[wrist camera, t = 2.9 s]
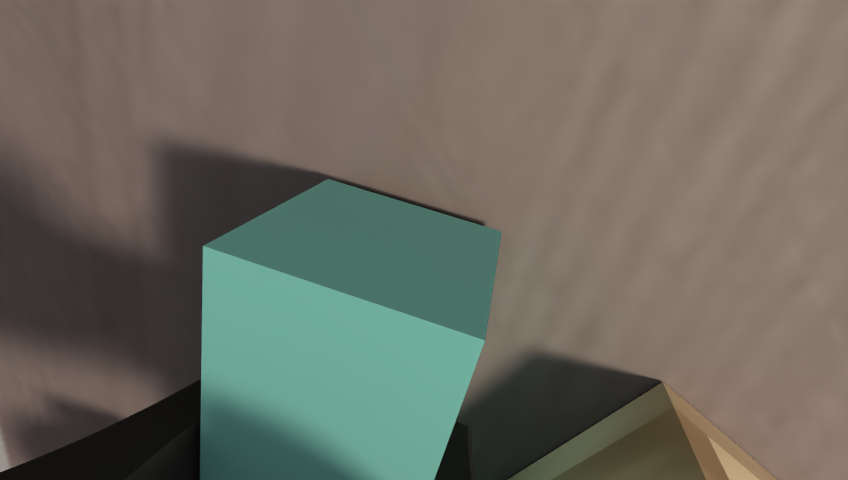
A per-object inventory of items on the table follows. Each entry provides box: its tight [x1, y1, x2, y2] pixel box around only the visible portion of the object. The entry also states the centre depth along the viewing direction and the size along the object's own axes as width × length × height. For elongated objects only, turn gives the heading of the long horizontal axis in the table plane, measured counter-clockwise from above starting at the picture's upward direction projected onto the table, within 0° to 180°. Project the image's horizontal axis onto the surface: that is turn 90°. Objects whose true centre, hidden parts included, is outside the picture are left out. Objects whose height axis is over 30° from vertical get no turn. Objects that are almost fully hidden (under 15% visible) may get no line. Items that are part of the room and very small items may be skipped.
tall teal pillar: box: [200, 179, 501, 480], centre depth 9 cm, size 10×4×4 cm, turn 167°
